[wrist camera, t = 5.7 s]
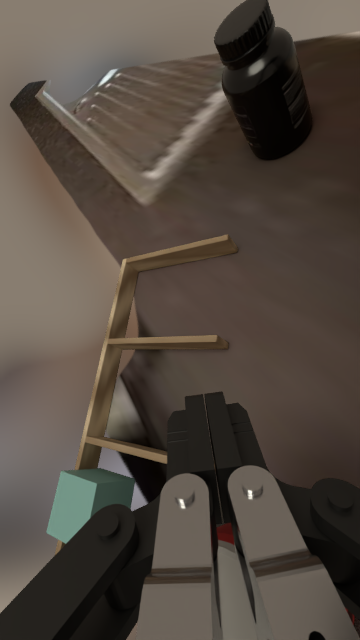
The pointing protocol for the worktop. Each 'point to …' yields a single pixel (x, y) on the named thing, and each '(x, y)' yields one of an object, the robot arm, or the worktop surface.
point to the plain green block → (86, 498)
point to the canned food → (235, 591)
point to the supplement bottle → (263, 80)
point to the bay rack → (117, 342)
